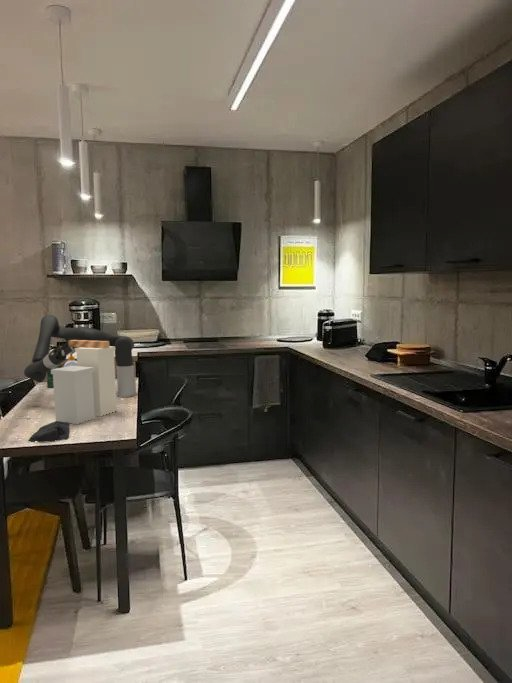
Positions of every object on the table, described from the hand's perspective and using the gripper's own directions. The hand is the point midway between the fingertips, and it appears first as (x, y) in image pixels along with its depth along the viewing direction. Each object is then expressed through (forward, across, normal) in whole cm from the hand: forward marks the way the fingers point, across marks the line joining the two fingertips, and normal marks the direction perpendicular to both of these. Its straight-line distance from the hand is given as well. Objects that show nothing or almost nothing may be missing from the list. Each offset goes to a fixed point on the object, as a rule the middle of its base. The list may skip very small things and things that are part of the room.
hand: (74, 343), depth 248 cm
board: (+7, 0, +6) cm, 9 cm away
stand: (-6, 0, +36) cm, 36 cm away
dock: (-6, -15, +36) cm, 39 cm away
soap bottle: (-54, +40, +8) cm, 68 cm away
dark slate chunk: (+1, -36, +40) cm, 54 cm away
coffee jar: (-70, +43, -1) cm, 82 cm away
